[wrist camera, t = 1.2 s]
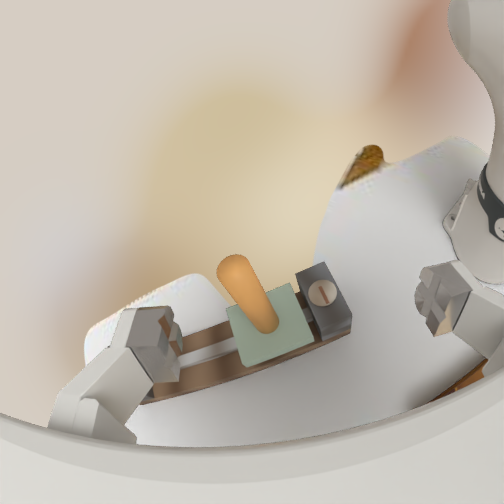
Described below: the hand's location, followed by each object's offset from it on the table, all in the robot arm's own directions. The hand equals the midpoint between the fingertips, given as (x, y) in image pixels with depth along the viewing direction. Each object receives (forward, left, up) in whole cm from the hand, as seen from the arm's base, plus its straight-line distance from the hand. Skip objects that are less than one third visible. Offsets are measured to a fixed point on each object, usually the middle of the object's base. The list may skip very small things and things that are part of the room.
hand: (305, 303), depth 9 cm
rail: (+4, -15, -30) cm, 34 cm away
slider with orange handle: (-2, -11, -27) cm, 29 cm away
